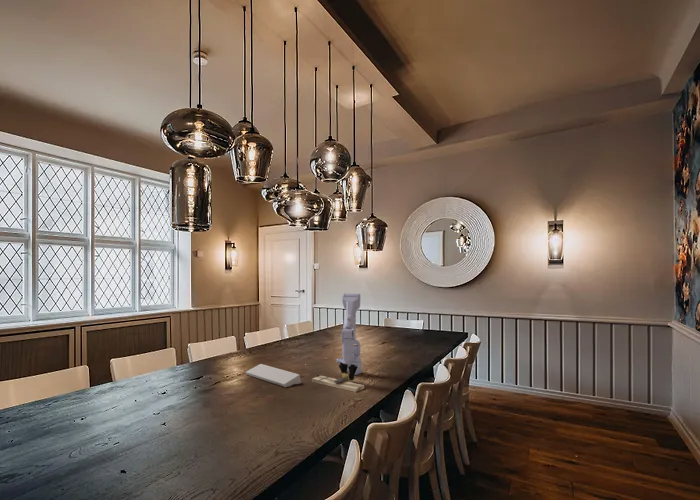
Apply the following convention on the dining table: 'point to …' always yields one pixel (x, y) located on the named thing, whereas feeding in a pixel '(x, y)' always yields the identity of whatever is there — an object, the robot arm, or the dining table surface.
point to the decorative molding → (274, 375)
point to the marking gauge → (344, 377)
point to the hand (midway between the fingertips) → (348, 379)
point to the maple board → (341, 385)
